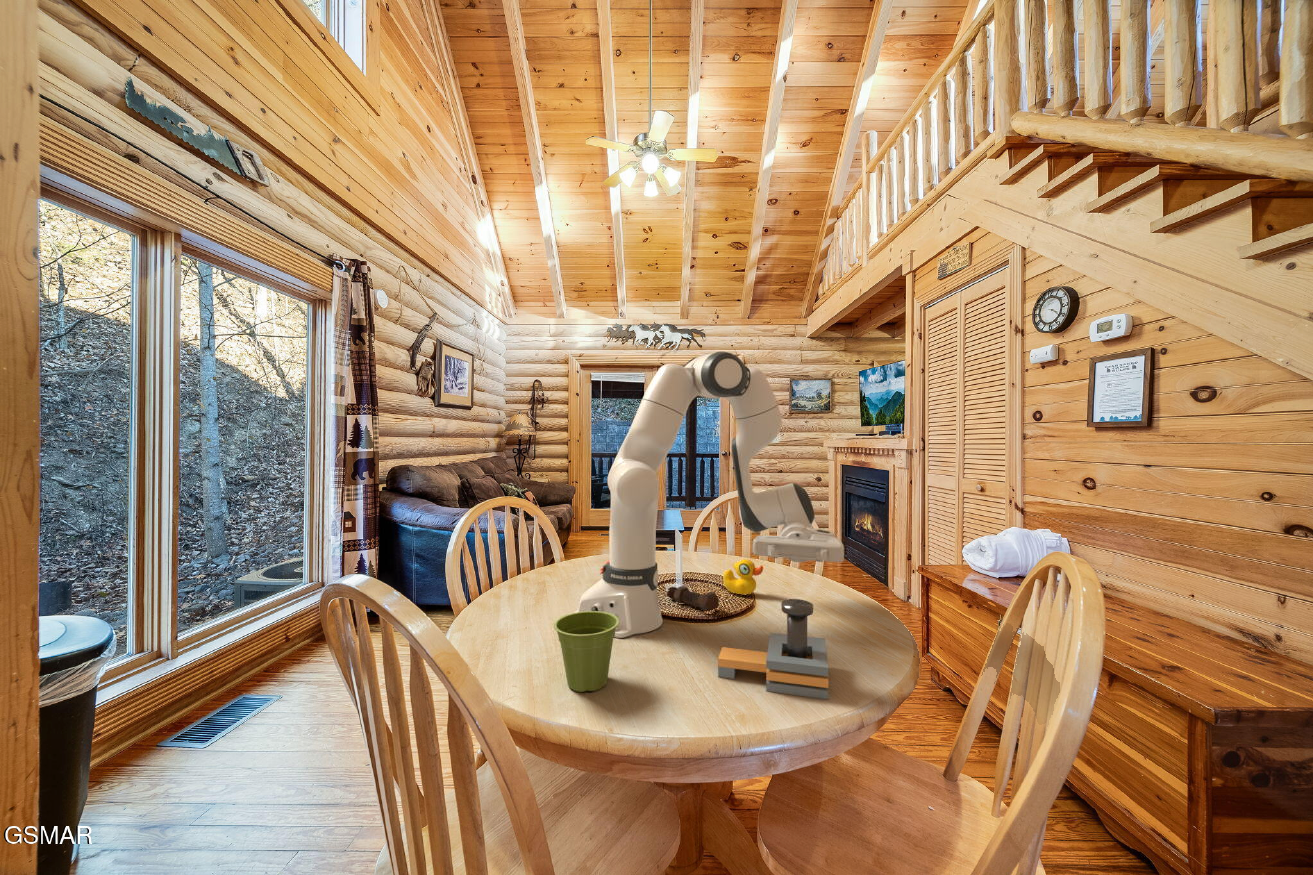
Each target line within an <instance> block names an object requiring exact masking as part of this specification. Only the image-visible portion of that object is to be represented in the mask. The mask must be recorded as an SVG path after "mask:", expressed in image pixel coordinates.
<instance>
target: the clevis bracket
mask: <svg viewBox="0 0 1313 875" xmlns="http://www.w3.org/2000/svg"><path fill="white" fill-rule="evenodd" d="M738 670H743V671H751V672H759V673H766V675H765V676H766V678H765V680H766V682H765V683H766V685H765V688H766V689H765V690H766V692H771V693H777V694H784V695H785V694H786V695H791V696H800V697H808V698H813V699H820V700H821V699H822V700H827V701H828V700H829V659H828V651H827V642H826V638H824V637H814V636H808V635H807V659H804V658H796V657H787V633H778V632H770V633H769V640H768V646H767V651H758V650H749V649H742V648H732V647H724V646H722V647H721V650H720V652H719V655H718V658H717V675H718V676H717V677H718V678H723V679H731V680H734V679H735V678H736V674H737V671H738Z"/></svg>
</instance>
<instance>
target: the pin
mask: <svg viewBox="0 0 1313 875" xmlns="http://www.w3.org/2000/svg"><path fill="white" fill-rule="evenodd" d="M780 609H781V612H783V613H784V614H785V615H786V634H787V657H796V658H804V659H807V636H808V616H809V617H810V616H812V615H813V614H814V604H813V603H812V602H810V601H808V600H804V599H799V598H787V599H784V600H782V601H781V607H780Z"/></svg>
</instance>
